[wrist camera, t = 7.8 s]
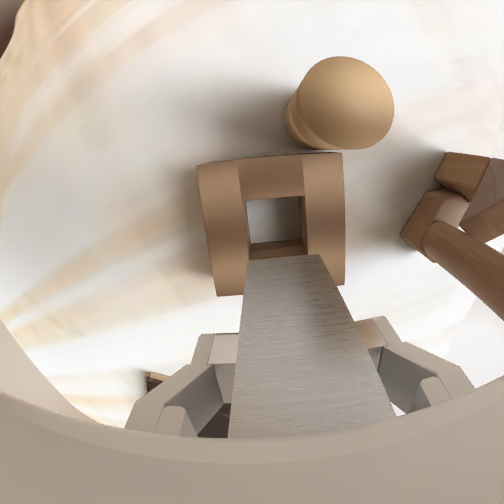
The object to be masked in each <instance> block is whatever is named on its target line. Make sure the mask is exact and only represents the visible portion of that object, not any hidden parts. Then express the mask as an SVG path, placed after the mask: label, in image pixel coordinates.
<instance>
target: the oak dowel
mask: <svg viewBox="0 0 504 504" xmlns="http://www.w3.org/2000/svg"><path fill="white" fill-rule="evenodd" d="M393 117H394V103H393V98H392V94H391V92H390V89H389V87H388V85H387V84H386V82H385V80H384V79H383V78H382V76H381V75H380V74H379V73H378V72H377V71H376V70H375V69H373V68H372V67H371V66H369V65H368V64H366V63H364V62H362V61H360V60H357V59H354V58H350V57H339V56H338V57H331V58H327V59H324V60H322V61H320V62H318V63H317V64H315V65H314V66H313V67H312V68H311V69H310V70H309V71H308V72H307V74H306V76H305V77H304V79H303V80H302V82H301V84H300V85H299V87H298V89H297V90H296V92H295V94H294V95H293V97H292V99H291V100H290V102H289V104H288V105H287V107H286V110H285V116H284V121H285V126H286V129H287V131H288V133H289V135H290V136H291V137H292V139H293V140H294V141H295V142H297V143H298V144H300V145H301V146H303V147H305V148H308V149H313V150H333V149H363V148H367V147H370V146H372V145H374V144H376V143H377V142H379V141H380V140H381V139H382V138H383V137H384V136H385V135H386V133H387V132H388V130H389V129H390V127H391V124H392V121H393Z"/></svg>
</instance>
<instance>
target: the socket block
mask: <svg viewBox="0 0 504 504" xmlns="http://www.w3.org/2000/svg"><path fill="white" fill-rule="evenodd" d="M196 170H197V177H198V184H199V191H200V198H201V205H202V211H203V218H204V224H205V231H206V237H207V243H208V249H209V255H210V261H211V266H212V272H213V278H214V283H215V289H216V294H217V297H218V296H232V295H244V286H245V278H246V269H247V261H248V260H259V259H270V258H281V257H292V256H302V255H313V254H320V256H321V258H322V260H323V262H324V263H325V265H326V267H327V269H328V271H329V273H330V275H331V277H332V279H333V281H334V283H335V284H336V286H339V285H344V283H345V200H344V178H343V161H342V153H337V152H318V153H300V154H286V155H274V156H263V157H253V158H243V159H235V160H227V161H219V162H212V163H205V164H202V165H198V166H196ZM291 196H299V204H300V218H301V235H302V239H299V240H288V241H277V242H266V243H255V244H250V235H249V227H248V218H247V209H246V201H248V200H258V199H268V198H279V197H291Z"/></svg>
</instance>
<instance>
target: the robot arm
mask: <svg viewBox="0 0 504 504" xmlns="http://www.w3.org/2000/svg"><path fill="white" fill-rule="evenodd" d="M354 322H355V325H356V327H357V329H358V331H359V333H360V335H361V337H362V339H363V341H364V343H365V346H366V348H367V350H368V352H369V354H370V356H371V359H372V361H373V363H374V365H375V368H376V370H377V372H378V374H379V377H380V379H381V381H382V383H383V386H384V388H385V390H386V393H387V395H388V397H389V400H390V402H392V403H393V404H394V405H396V406H397V407H398V408H399V409H401V410H402V411H403V412H405V413H406V414H405V415H401V416H398V417H394V418H390V419H386V420H382V421H378V422H374V423H370V424H365V425H360V426H355V427H350V428H345V429H339V430H333V431H326V432H319V433H312V434H303V435H293V436H282V437H266V438H201V437H198V436H197V434H198V433H199V432H200V431H201V430H202V429H203V428H204V426H205V425H206V424H207V423H208V422H209V421H210V420H211V418H212V417H213V416H214V415H215V414H216V413H217V411H218V410H219V409H220V408H221V407H222V406H223V403H231V402H232V393H233V384H234V375H235V366H236V357H237V348H238V339H239V333H216V334H201V335H200V336H199V339H198V342H197V345H196V348H195V352H194V355H193V358H192V361H191V365H185V366H184V367H183V368H181V369H180V370H179V371H177V372H176V373H174V374H173V375H172V376H170V377H169V378H168V379H166V380H165V381H164V382H162V383H161V384H159V385H158V386H157V387H155V388H154V389H153V390H151V391H150V392H148V393H147V394H146V395H144V396H143V397H141V398H140V399H139V400H137V401H136V402H135V404H134V407H133V409H132V411H131V414H130V416H129V418H128V421H127V423H126V425H125V428H118V427H113V426H108V425H104V424H99V423H95V422H91V421H87V420H83V419H79V418H75V417H72V416H68V415H65V414H61V413H58V412H55V411H52V410H48V409H46V408H43V407H40V406H37V405H34V404H31V403H29V402H26V401H24V400H21V399H19V398H16V397H14V396H11V395H9V394H7V393H5V392H2V391H0V504H504V375H503V376H501V377H499V378H497V379H495V380H493V381H491V382H489V383H487V384H485V385H483V386H481V387H478V388H476V389H475V388H474V386H473V385H472V383H471V382H470V380H469V379H468V377H467V376H466V375H465V373H464V372H463V370H462V369H461V368H460V367H459V366H457V365H455V364H453V363H451V362H449V361H446V360H444V359H442V358H440V357H438V356H436V355H433V354H431V353H429V352H427V351H425V350H423V349H420V348H418V347H416V346H414V345H412V344H410V343H407V342H403V343H402V341H401V340H400V338H399V337H398V335H397V334H396V332H395V331H394V329H393V327H392V326H391V324H390V323H389V321H388V320H387V318H386V317H385V316H380V317H375V318H370V319H366V320H360V321H354Z"/></svg>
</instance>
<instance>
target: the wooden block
mask: <svg viewBox="0 0 504 504" xmlns="http://www.w3.org/2000/svg"><path fill="white" fill-rule="evenodd" d="M435 179H436V180H437V181H438V182H439V183H440V184H441V185H442V186H443V187H444V188H445V189H438V190H434V191H429V192H427V193H425V194H424V196H423V198H422V200H421V201H420V203H419V205H418V206H417V208H416V210H415V211H414V213H413V214H412V216H411V218H410V219H409V221H408V222H407V224H406V226H405V227H404V229H403V230H402V232H401V233H400V236H401V238H402V239H404V240H405V241H406V242H408V243H409V244H410V245H411V246H413V247H414V248H415V249H416V250H418V251H419V252H420V253H421V254H423V255H424V256H425V257H427V258H428V259H429V260H430V261H432V262H433V263H438V264H439V265H440V266H442V267H443V268H444V269H445V270H447V271H448V272H449V273H450V274H451V275H453V276H454V277H455V278H456V279H457V280H459V281H460V282H461V283H462V284H463V285H465V286H466V287H467V288H468V289H469V290H470V291H472V292H473V293H474V294H475V295H476V296H477V297H478V298H480V299H481V300H482V301H483V302H484V303H485V304H486V305H487V306H488V307H489V308H491V309H492V310H493V311H494V312H495V313H496V314H497V315H498V316H499V317H500V318H501V319H502V320H503V321H504V255H503V254H501V253H499V252H498V251H496V250H494V249H493V248H491V247H489V246H488V245H486V244H484V243H486V242H488V241H490V240H492V239H494V238H496V237H498V236H500V235H502V234H504V160H502V159H497V158H492V159H491V158H489V157H483V156H476V155H469V154H462V153H454V152H448V153H447V154H446V156H445V158H444V159H443V161H442V163H441V165H440V167H439V169H438V171H437V173H436V174H435ZM469 202H470V203H469ZM459 226H460V227H461V228H462V229H463V230H464V231H465V232H466V233H465V232H463V231H461V230H459V229H458V227H459Z"/></svg>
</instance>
